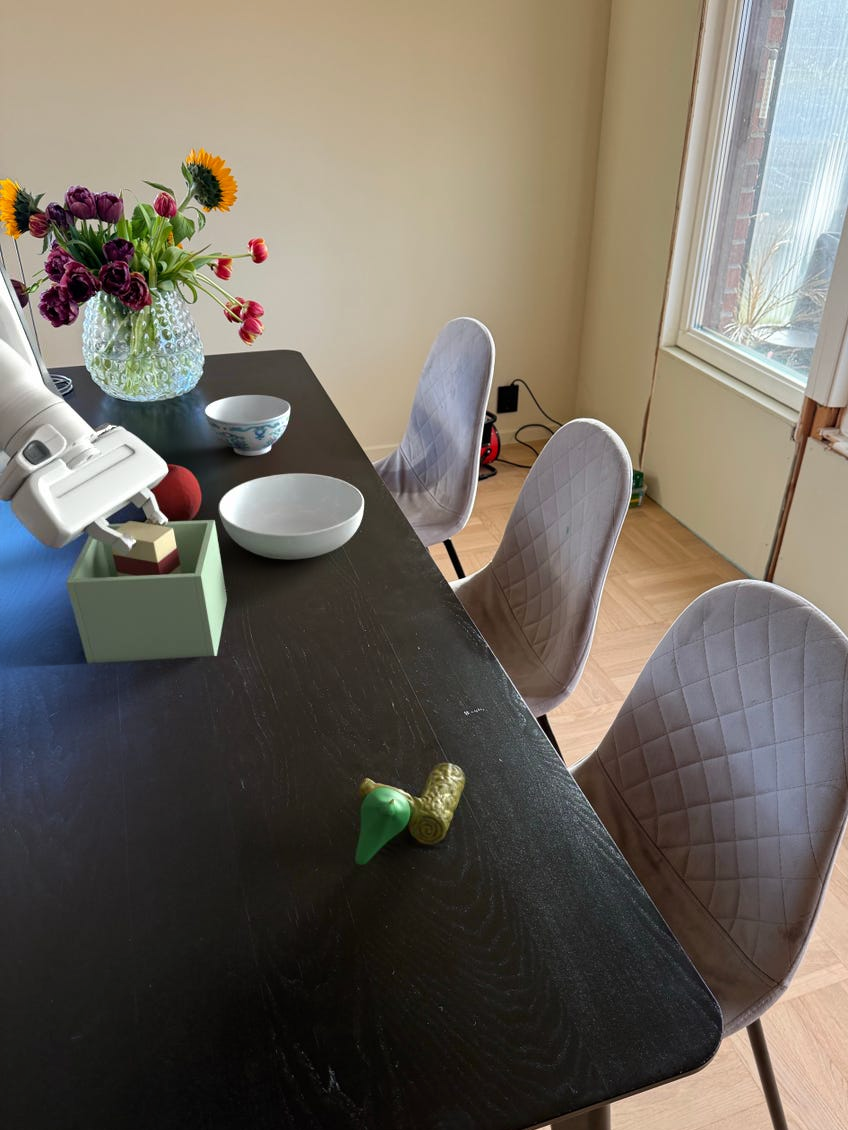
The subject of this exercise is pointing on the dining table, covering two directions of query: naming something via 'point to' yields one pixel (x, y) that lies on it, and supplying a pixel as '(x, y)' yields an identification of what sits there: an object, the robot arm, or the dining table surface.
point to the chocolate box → (148, 551)
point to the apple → (178, 494)
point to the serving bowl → (292, 515)
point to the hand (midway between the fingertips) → (147, 538)
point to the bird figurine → (408, 810)
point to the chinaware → (249, 422)
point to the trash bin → (151, 601)
